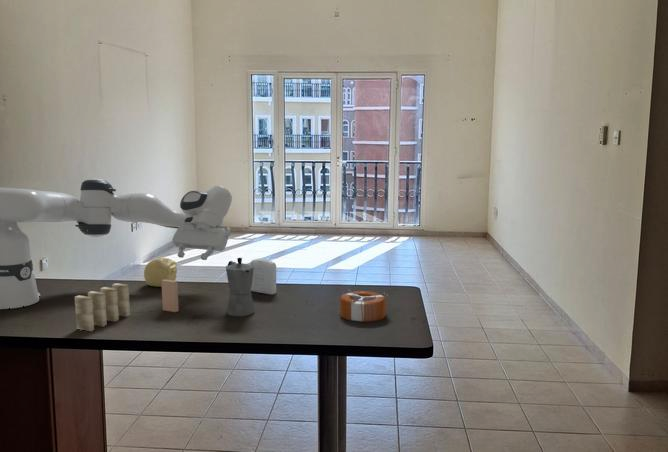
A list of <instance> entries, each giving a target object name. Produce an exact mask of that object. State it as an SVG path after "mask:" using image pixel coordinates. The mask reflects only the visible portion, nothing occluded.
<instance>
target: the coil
mask: <svg viewBox="0 0 668 452" xmlns="http://www.w3.org/2000/svg"><path fill="white" fill-rule="evenodd" d="M387 298H388V295H385V291H384V292H383V295H382V294H381V293H380V292H379V293H378V292H374V291H368V290H366V291H364V290H360V291H359V290H355V291H351V290H348V292H347V293H342V295H340V297H339V315H340V317H341V318H343V319H345V320H346V321H354V322H362V323H370V322H376V321H380V320H382V319H384V318H385V317H386V310H387V309H386V307H387V306H386V304H387V300H386V299H387Z"/></svg>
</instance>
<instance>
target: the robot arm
mask: <svg viewBox="0 0 668 452" xmlns="http://www.w3.org/2000/svg"><path fill="white" fill-rule="evenodd" d="M80 191H81V192H80V198H79V199H78V198H77V197H76V196H74V195H71V194H70V193H69V194H68V193H65V192H60V191H53V190H52V191H50V190H48V191H47V190H38V189H32V188H31V189H28V188H20V187H19V188H18V187H17V188H16V187H0V310H8V309H9V308H10V309H18V308H23V306H24V307H28V306H31V305H34V304H36V303H38V302H39V301H40V297H41V293H40V292H39V291H38V287H37V281H36V276H35V274H34V273H33V271H34V267H33V266H34V265H33V261H32V259H31V250H30V249H31V247H30V240H29V237H28V235H27V234H26V233H24V232H23V231H22V230H21V228H20V226H19V225H18V223H62V222H63V223H64V222H72V221H73V222H76V223H77V224H75V227H78V229H79V231H80V232H81V233H82V234H84V235H85V236H88V237H91V238H101V237H103V236H105V235H108V234H109V233H110V232H111V230H112V229H111V228H112V223H111V222H112V217H113V218H114V219H115V220H117V221H122V222H130V223H143V224H144V223H146V224H152V225H157V226H160V227H165V228H170V229H176V231H175V233H174V235H173V236H172V239H171V241H172V243H173V244H174V245H175V247H177V248H178V253H177V257H178V258H180V259H181V258H182V259H183V258H184V257H185V255H186V253H185V252H184V251H185V250H186V249H194V250H204V251H205V250H206V251H205V252H202V253H201V255H200V260H202V261H207V260H208V258H209V257H210V256H212V254H213V253H214V252H215V251H216V252H223V251H224V250H225V249H226V247H227V244H228V240H229V237H230V235H231V232H232V230H231V228H230V227H229V226H222V225H223V221H224V218H225V217H226V216H227V214H228V212H229V209H230V207H231V205H232V202H233V201H232V200H233V196H232V193H231V192H230V190H228V189H227V188H226V187H224V186H222V185H220V184H219V185H216V184H215V185H214V186H212V187H211V188H209V189H206V190H201V191H199V190H191V191H188V192H187V193H185V194H184V195H183V197H182V198H181V199H180V203H179V208H180V209H181V211H182V212H178V211H175V210H173V209H171V208H170V207H169V206H167V205H166V204H165V203H164V202H163V201H162V200H160V199H159V198H158V197H157V196H156V195H154V194H151V193H144V192H143V193H142V192H140V193H127V194H121V195H120V194H118V195H117V194H115V193H114V192H117V189H116V188H113V186H112V184H111V183H110V182H109V181H107V180H104V179H101V178H98V177H92V178H89V179H85V180H84V181H82V182H81V185H80ZM39 296H40V297H39Z"/></svg>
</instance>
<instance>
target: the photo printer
mask: <svg viewBox="0 0 668 452" xmlns="http://www.w3.org/2000/svg"><path fill="white" fill-rule="evenodd" d="M249 263H250V264H249V265H253V266H254V271H253V279H252V287H251V292H255V293H262V294H266V295H275V294H276V293H277V264H276V263H275V262H274V261H272V260H270V259H267V258H255V259H252V260H251V261H250V262H249Z"/></svg>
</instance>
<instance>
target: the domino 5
mask: <svg viewBox="0 0 668 452" xmlns="http://www.w3.org/2000/svg"><path fill="white" fill-rule="evenodd" d="M161 281H162V287H161V299H162V300H161V301H162V302H161V303H162V311H164V312H165V311H166V312H173V313H176V312H179V292H178V291H179V287H178V280H175V281H174V280H166V279H164V280H161Z"/></svg>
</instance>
